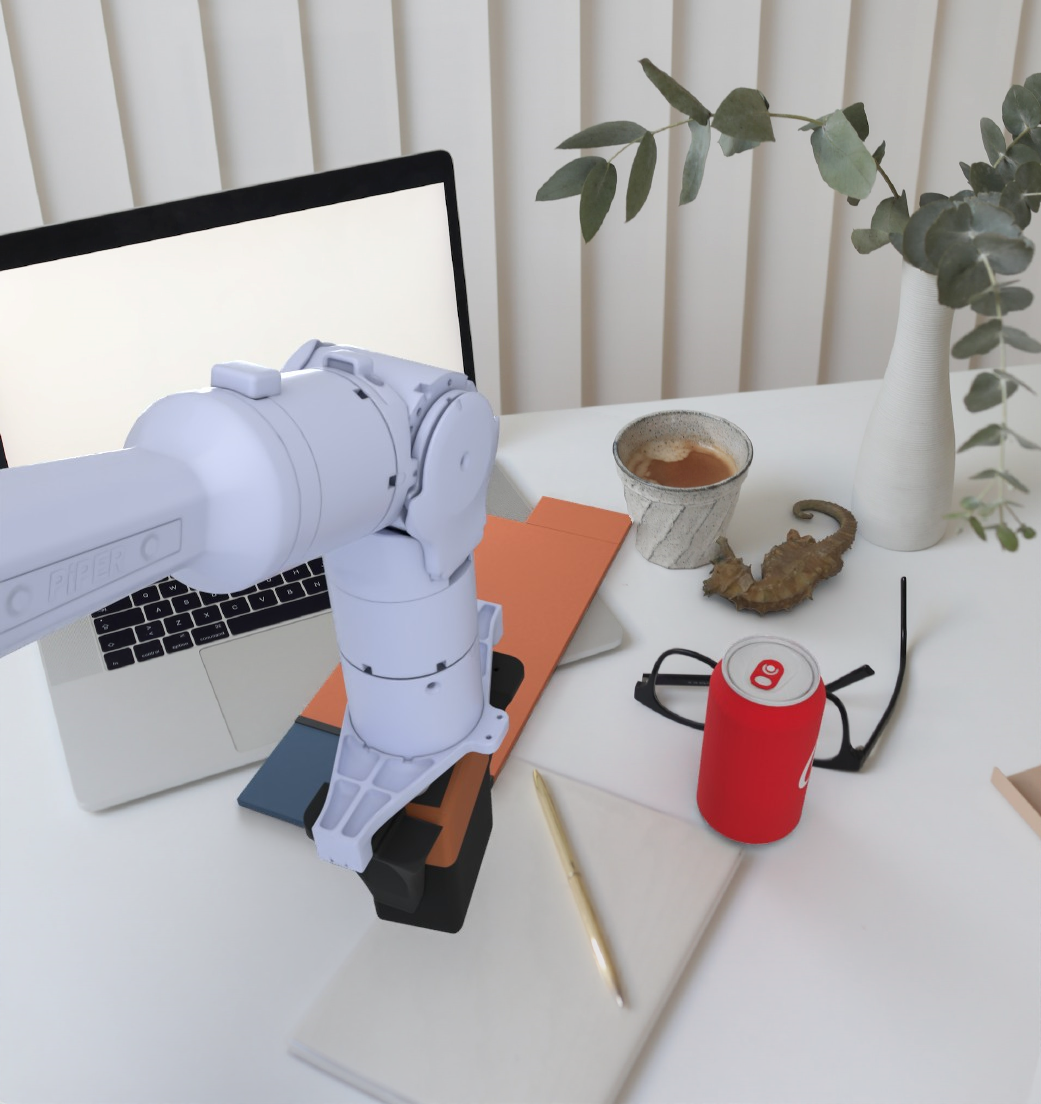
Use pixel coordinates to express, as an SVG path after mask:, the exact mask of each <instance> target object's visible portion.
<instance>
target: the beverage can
mask: <svg viewBox="0 0 1041 1104" xmlns="http://www.w3.org/2000/svg"><path fill="white" fill-rule="evenodd" d="M821 673H822V672H821V668H820V665H819V662H818V661H817V659H816V657H815V655H814V654H812V652H811V651H810V650H809V649H807V648H806V647H805V646H804V645H802V644H800V643H799V642H796V641H794V640H793V639H790V638H787V637H784V636H781V635H776V634H775V635H774V634H753V635H748V636H745V637H743V638H740V639H738V640H736V641H735V642H733V643H732V644H731V645H729V647H727V649H726V650H725V652H724V654H723V656H722V658H721V659H720V660H719V661H718V662H717V664H716V665H715V666H714V668H713V670H712V673H711V675H710V678H709V686H708V694H707V695H708V696H707V701H706V709H705V720H704V726H703V727H704V728H703V736H702V746H701V753H700V762H699V769H698V770H699V771H698V779H697V787H696V804H697V808H698V810H699V812H700V814H701V816H702V818H703V819H704V821H705V822H706V823H707V824H708V825H709V826H710V828H712V829H713V830H714V831H715V832H717V833H718V834H720V835H721V836H723V837H725V838H727V839H729V840H731V841H734V842H737V843H741V844H747V845H767V844H771V843H775V842H778V841H780V840H782V839H784V838H785V837H787V836H788V835H790V834H791V833H792V832H793V831H794V830H795V829H796V827H797V826H798V824H799V822H800V820H801V818H802V815H803V814H802V813H803V808H804V803H805V800H806V795H807V791H808V785H809V781H810V778H811V777H810V776H811V773H812V767H813V763H814V758H815V754H816V750H817V744H818V739H819V735H820V730H821V725H822V721H823V716H824V712H825V707H826V703H827V692H826V685H825V682H824V680H823V677H822V676H821Z"/></svg>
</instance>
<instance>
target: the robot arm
mask: <svg viewBox="0 0 1041 1104" xmlns="http://www.w3.org/2000/svg"><path fill="white" fill-rule="evenodd" d="M468 378H469V376H468V375H467V374H465V373H463V372H459V371H455V370H451V369H447V368H443V367H439V366H435V365H431V364H427V363H422V362H419V361H416V360H415V361H414V360H410V359H407V358H403V357H402V358H401V357H398V356H395V355H390V354H387V353H382V352H378V351H374V350H370V349H366V348H363V347H358V346H355V345H350V344H346V343H339V344H336V343H333V342H326V341H325V342H323V341H321V340H320V339H318V338H316V337H315V338H314V337H313V338H311V339H309V340H307V341H305V343H303V344H301V346H299V347H298V348H297V349H296V350H295V351H294V352H293V353H292V354H291V355H290V356H289V358H288V359H287V360H286V362H285V363H284V365H283V366H282V368H281V369H280V371H279V370H277V369H275V368H272V367H268V366H264V365H260V364H257V363H253V362H248V361H245V360H241V359H239V360H231V361H227V362H221V363H216V364H214V365H213V366H212V367H211V368H210V386H207V387H201V388H197V389H190V390H186V391H184V390H183V391H180V392H174V393H172V394H169V395H166V396H163V397H160V398H158V399H157V400H155V401H154V402H152V403H151V404H150V405H148V406H147V408H145V409H144V410H143V411H142V412H141V414H140V415H139V416H138V417H137V419H136V420H135V422H134V423H133V425H132V427H130V428H131V429H130V430H129V432H128V434H127V436H126V438H125V440H124V444H123V447H122V448H121V449H115V450H110V451H104V452H103V451H102V452H97V453H91V454H85V455H84V454H83V455H79V456H72V457H67V458H61V459H55V460H48V461H42V462H37V463H30V464H24V465H18V466H13V467H6V468H0V659H2V658H4V657H6V656H8V655H10V654H12V653H15V652H17V651H19V650H21V649H22V648H25V647H27V646H29V645H31V644H33V643H35V642H37V641H38V640H40V639H43V638H45V637H47V636H49V635H51V634H53V633H55V632H57V631H59V630H62V629H63V628H65V627H67V626H69V625H72V624H73V623H75V622H78V621H79V620H82V619H84V618H86V617H89V616H90V615H92V614H94V613H96V612H98V611H100V610H102V609H104V608H106V607H108V606H110V605H112V604H114V603H116V602H118V601H120V600H123V599H125V598H126V597H128V596H130V595H132V594H134V593H136V592H138V591H140V590H143V589H145V588H147V587H149V586H151V585H153V584H155V583H157V582H159V581H162V580H163V579H165V578H167V577H169V576H170V577H172V578H173V579H175V580H176V581H178V582H179V583H181V584H183V585H185V586H186V587H189V588H191V589H193V590H196V591H199V592H202V593H203V592H204V593H208V594H213V595H214V594H215V595H227V594H233V593H236V592H241V591H245V590H246V589H248V588H251V587H253V586H255V585H257V584H260V583H263V582H265V581H267V580H269V579H271V578H274V577H277V576H278V575H281V574H282V573H285V572H287V571H290V570H293V569H294V568H296V567H299V566H301V565H304V564H306V563H309V562H310V561H313V560H315V559H317V558H319V557H321V558H322V559H321V560H322V564H323V569H324V576H325V581H326V586H327V587H326V588H327V592H328V597H329V604H330V609H331V614H332V620H333V626H334V631H335V638H336V643H337V644H336V645H337V650H338V655H339V660H340V662H341V666H342V671H343V677H344V682H345V688H346V694H347V699H348V702H347V705H346V710H345V714H344V719H343V724H342V729H341V734H340V738H339V743H338V748H337V753H336V758H335V763H334V767H333V772H332V777H331V782H330V783H328V782H324V783H323V784H322V786H321V787H320V789H319V790H318V792H317V793H316V795H315V796H314V798H313V799H312V801H311V802H310V804H309V805H308V807H307V808H306V810H305V812H304V816H303V821H304V826H305V828H304V829H305V834H306V836H307V838H308V839H310V840H312V841H314V845H315V849H316V854H317V857H318V859H319V860H321V861H325V862H328V863H331V864H333V865H336V866H339V867H341V868H344V869H348V870H351V871H353V872H355V873H356V874H357V875H358V877H359V878H360V880H361V881H362V882H363V883H364V885H365V886H366V888H367V889H368V891H369V892H370V894H371V896H372V898H373V897H374V898H375V900H376V901H377V902H380V903H383V904H386V905H389V906H391V907H394V908H397V909H400V910H403V911H406V912H409V913H414V912H415V910H416V908H417V906H418V904H419V903H420V900H421V898H422V895H423V891H424V878H425V863H426V858H427V856H428V855H429V853H430V851H431V849H432V847H433V845H434V844H435V842H436V840H437V838H438V836H439V834H440V833H441V831H442V829H443V826H440V825H437V824H433V823H430V822H427V821H424V820H421V819H418V818H415V817H412V816H409V815H407V814H406V808H405V807H404V806H405V805H406V804H407V803H409V802H410V801H411V800H412V799H413V798H414V797H416V796H417V795H418V794H419V793H420V792H422V791H423V790H424V789H425V788H426V787H427V786H429V785H430V784H431V783H432V782H433V781H434V780H436V779H437V778H438V777H439V776H440V775H442V774H443V773H444V772H445V771H446V770H447V769H449V768H450V767H451V766H452V765H453V764H455V763H456V762H457V761H458V760H459V759H460V758H462V757H463V756H464V755H465V754H467V753H469V752H473V751H474V752H478V753H482V754H489V765H490V763H491V759H492V755H493V753H494V752H496V751H497V750H498V749H499V747H500V745H501V743H502V741H503V739H504V737H505V735H506V734H507V732H508V730H509V716H508V714H507V712H505V710H506V708H507V706H508V705H509V704H510V703H511V701H512V700H513V698H514V696H515V694H516V692H517V690H518V689H519V687H520V685H521V683H522V681H523V679H524V677H525V673H524V665H523V663H522V662H521V661H520V660H519V659H518V658H516V657H514V656H511V655H507V654H503V653H500V652H496V651H493V646H496V645H497V644H498V642H499V640H500V639H501V637H502V635H503V618H502V605H499V604H495V603H491V602H487V601H483V600H479V599H477V593H476V577H475V561H474V549H475V547H476V546H477V545H478V544H479V543H480V542H481V540H482V538H483V534H484V526H485V524H486V523H487V515H486V514H487V495H488V488H489V483H490V480H491V477H492V474H493V470H494V466H495V462H496V457H497V453H498V447H499V441H500V425H501V424H500V423H501V421H500V420H501V419H500V416H499V415H495V414H494V410H493V407H492V405H491V402H490V401H489V400H488V398H487V397H486V396H485V395H484V394H482V393H480V392H479V391H478V389H477V386H476V385H475V383H474V381H473V380H470V379H468Z"/></svg>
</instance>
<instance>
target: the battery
mask: <svg viewBox="0 0 1041 1104" xmlns="http://www.w3.org/2000/svg"><path fill="white" fill-rule="evenodd" d="M404 807H405V808H406V814H407V815H409V816H412V817H415V818H418V819H421V820H424V821H427V822H430V823H433V824H437V825H440V826H443V829H442V831H441V833H440V834H439V836H438V838H437V840H436V842H435V844H434V845H433V847H432V849H431V851H430V853H429V855H428V856H427V858H426V863H425V878H424V891H423V895H422V898H421V900H420V903H419V904H418V906H417V908H416V910H415V912H414V913H409V912H406V911H403V910H400V909H397V908H394V907H391V906H389V905H386V904H383V903H380V902H377V901H376V900H375V898H374V897H373V896H372V898H373V904H374V910H375V914H376V916H377V918H378V919H380V920H382V921H386V922H390V923H395V924H396V923H397V924H401V925H406V926H411V927H416V928H420V929H425V930H431V931H435V932H442V933H446V934H451V935H455V934H457V933H459V932H460V931H461V930H462V928H463V926H464V923H465V920H466V917H467V913H468V910H469V907H470V904H471V901H472V897H473V894H474V891H475V887H476V884H477V880H478V878H479V874H480V871H481V868H482V864H483V861H484V858H485V854H486V850H487V848H488V845H489V841H490V837H491V835H492V831H493V827H494V818H493V817H494V816H493V802H492V788H491V782H490V765H489V754H482V753H478V752H474V751H473V752H469V753H467V754H465V755H464V756H463V757H462V758H460V759H459V760H458V761H457V762H456V763H455V764H453V765H452V766H451V767H450V768H449V769H447V770H446V771H445V772H444V773H443V774H442V775H440V776H439V777H438V778H437V779H436V780H434V781H433V782H432V783H431V784H430V785H429V786H427V787H426V788H425V789H424V790H423V791H422V792H420V793H419V794H418V795H417V796H416V797H414V798H413V799H412V800H411V801H410V802H409V803H407V804H406V805H405V806H404Z"/></svg>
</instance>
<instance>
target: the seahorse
mask: <svg viewBox="0 0 1041 1104" xmlns="http://www.w3.org/2000/svg"><path fill="white" fill-rule="evenodd" d="M803 511H817V512H821V513H824V514H827V515H830V516H832V517H833V518H835V519H836V520H837V521H838V523H839V524H840V528H839V529H838V530H837V531H836V532H834V533H832V534H830V536H829V535H826V537H825V538H823V539H822V540H821V541H820V540H818V541H816V538H814V537H813V536H812V535H810V534H807V535H803V536H800V533H799V530H797V529H794V528H791V529H789V531H788V532H787V533H786V537H785V538H786V539H785V540H786V541H784V542H783V541H782V543H781V544H778V545H777V544H775V545H773V546H772V548H771V549H770V551H769V552H768V553H764V557H763V561H762V563H761V564H760V573H761V579H760V580H756V579H755V578H754V575H753V572H752V565H753V564H752V563H750V564H748V565H747V564H745V563H744V559H743V557H739V558H738V557H737V556H736V555H735V553H734V551H733V549H732V548H731V546H730V545H729V542H728V541H729V540H728V538H727V537H725V536H722V535H720V536H719V538H718V539H717V540H716V542H715V543H716V544H717V545H718V546H719V548H720V550H721V554H719V555H715V558H714V559H713V560H709V563H710V564H712V566H713V567H712V569H711V570H710V571H709V573H708V575H711V576H710V577H709V578H706V579H704V580H703V581H702V584H703V586H702V591H703V597H706V596H707V598H711V597H712V596H713V595H718V596H720V597H723V598H725V599H726V600H729V601H732V602H733V603H734V604H735V607H736V611H737V612H739V611H742V610H743V609H748V610H749V611H752V610H754V611H756V612H758V613H759V614H760V615H761V617H762V618H764V616H765V615H766V613H768V612H769V611H772V612H779V611H781V610H787V611H788V612H792V608H793V606H794V605H797V604H801V603H802V602H803V601H804V599H808V600H810V601H814V598H813V596H812V595H813V592H814V590H815V589H816V587H817V585H818V584H819V583H820V582H821V581H823V580H825V581H827V580H828V579H829V578H831V577H834V576H837V575H838V574H839V573H841V572H842V570H843V567H844V566H845V563H844V560H843V559H842V555H844V554H845V552H847V551H848V549H849V550H852V545H853V544H854V542H855V541H856V540H855V539H856V533H857V530H858V523H859V521H857V518H855V515H853V513H852V511H850V510H849V509H847V508H845V507H844V506H842V505H839V504H838V503H835V502H831V501H826V500H823V499H803V500H799V501H797V502H795V503H794V504H793V506H792V513H793V515H794V516H795V517H796V518H798V519H800V520H807V521H808V520H812V519H813V518H814V517H815V516H814V513H813V512H809V513H805V512H803Z"/></svg>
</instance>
